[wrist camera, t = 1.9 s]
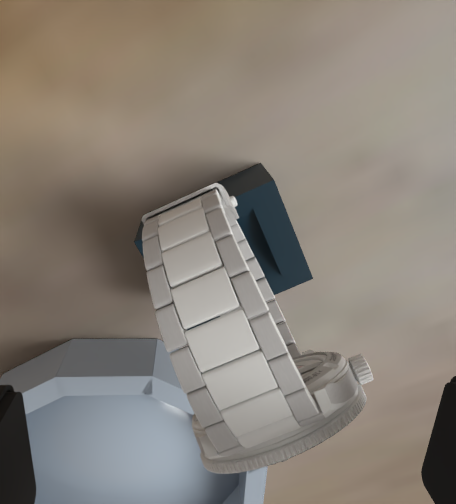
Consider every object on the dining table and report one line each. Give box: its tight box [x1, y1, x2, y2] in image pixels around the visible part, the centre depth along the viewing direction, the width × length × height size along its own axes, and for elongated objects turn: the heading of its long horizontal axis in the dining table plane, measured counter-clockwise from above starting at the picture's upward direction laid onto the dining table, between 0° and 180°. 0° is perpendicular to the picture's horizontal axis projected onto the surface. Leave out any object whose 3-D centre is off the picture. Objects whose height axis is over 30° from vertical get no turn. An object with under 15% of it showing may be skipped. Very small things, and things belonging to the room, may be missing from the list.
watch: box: [134, 163, 373, 474], centre depth 14 cm, size 6×8×11 cm
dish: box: [0, 339, 267, 504], centre depth 22 cm, size 15×15×3 cm
